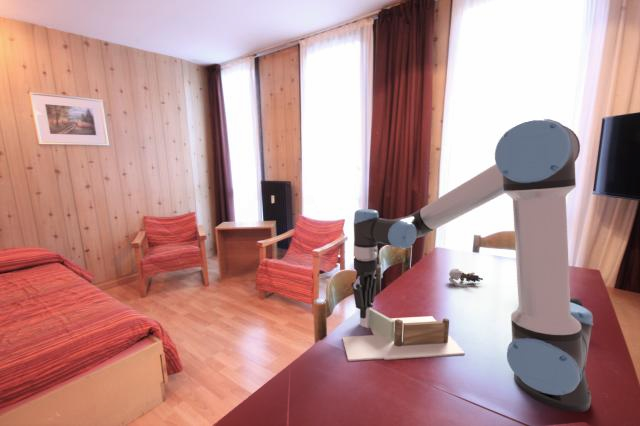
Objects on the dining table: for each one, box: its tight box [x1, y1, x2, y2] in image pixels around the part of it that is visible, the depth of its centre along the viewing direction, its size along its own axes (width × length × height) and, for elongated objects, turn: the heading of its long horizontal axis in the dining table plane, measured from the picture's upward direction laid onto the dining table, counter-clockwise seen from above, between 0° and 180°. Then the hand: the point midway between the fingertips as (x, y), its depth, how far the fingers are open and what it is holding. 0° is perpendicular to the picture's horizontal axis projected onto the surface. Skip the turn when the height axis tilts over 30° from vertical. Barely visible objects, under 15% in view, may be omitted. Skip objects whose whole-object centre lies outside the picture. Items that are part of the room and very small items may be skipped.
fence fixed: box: [394, 318, 450, 347], centre depth 91 cm, size 2×17×8 cm, turn 95°
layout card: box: [341, 315, 466, 362], centre depth 95 cm, size 21×34×1 cm, turn 95°
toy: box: [448, 268, 484, 288], centre depth 134 cm, size 11×8×15 cm
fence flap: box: [368, 307, 394, 340], centre depth 98 cm, size 14×2×7 cm, turn 35°
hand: (364, 325), depth 98 cm, fingers closed
